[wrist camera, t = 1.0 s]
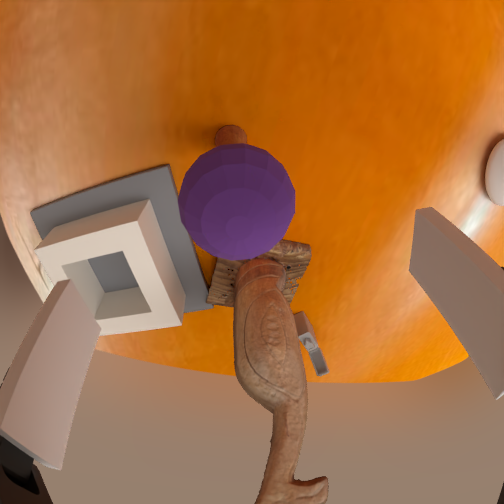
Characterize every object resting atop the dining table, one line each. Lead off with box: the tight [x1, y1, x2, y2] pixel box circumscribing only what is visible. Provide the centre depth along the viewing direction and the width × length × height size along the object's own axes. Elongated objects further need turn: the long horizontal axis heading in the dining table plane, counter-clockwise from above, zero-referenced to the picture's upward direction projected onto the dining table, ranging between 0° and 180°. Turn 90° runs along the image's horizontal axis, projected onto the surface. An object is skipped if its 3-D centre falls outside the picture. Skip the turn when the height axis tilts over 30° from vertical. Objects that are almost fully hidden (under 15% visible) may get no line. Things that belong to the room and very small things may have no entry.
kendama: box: [178, 125, 295, 261], centre depth 21 cm, size 6×6×20 cm
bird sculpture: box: [206, 239, 329, 504], centre depth 26 cm, size 11×12×32 cm
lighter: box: [293, 311, 329, 376], centre depth 42 cm, size 7×2×8 cm, turn 29°
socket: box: [30, 164, 214, 336], centre depth 33 cm, size 20×20×6 cm
